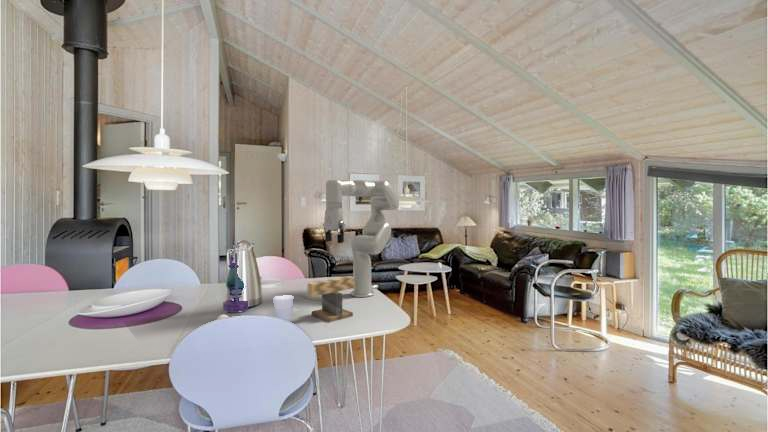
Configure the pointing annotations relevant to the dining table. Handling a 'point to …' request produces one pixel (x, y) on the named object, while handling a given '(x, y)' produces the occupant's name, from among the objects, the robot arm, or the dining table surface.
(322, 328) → the dining table surface
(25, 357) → the dining table surface
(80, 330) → the dining table surface
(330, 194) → the robot arm
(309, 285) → the oak bar
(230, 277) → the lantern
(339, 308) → the stand
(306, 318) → the dining table surface
